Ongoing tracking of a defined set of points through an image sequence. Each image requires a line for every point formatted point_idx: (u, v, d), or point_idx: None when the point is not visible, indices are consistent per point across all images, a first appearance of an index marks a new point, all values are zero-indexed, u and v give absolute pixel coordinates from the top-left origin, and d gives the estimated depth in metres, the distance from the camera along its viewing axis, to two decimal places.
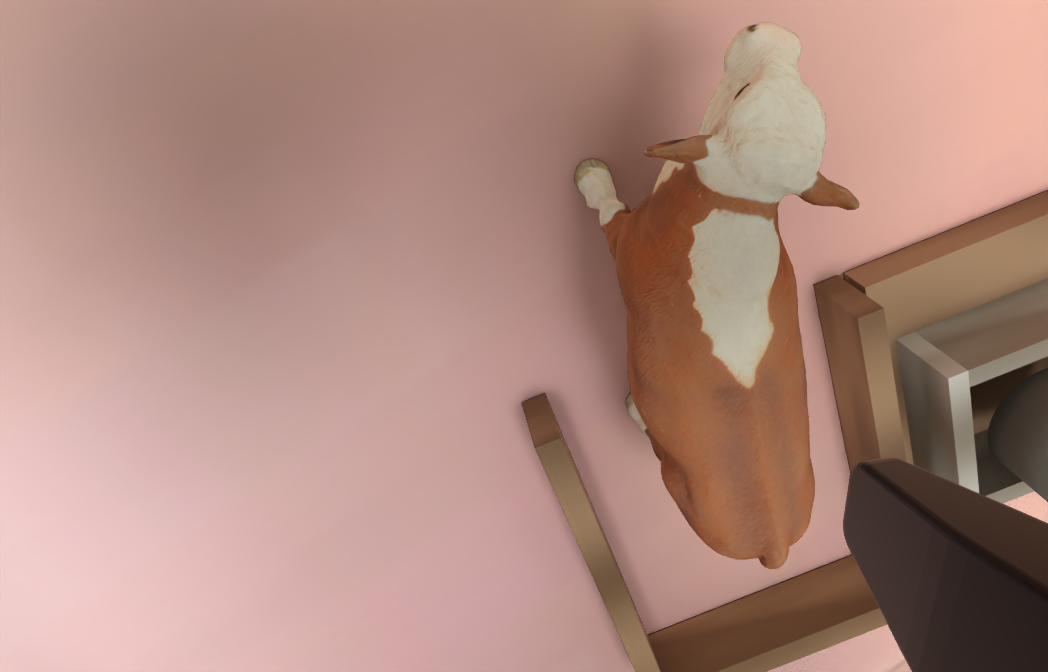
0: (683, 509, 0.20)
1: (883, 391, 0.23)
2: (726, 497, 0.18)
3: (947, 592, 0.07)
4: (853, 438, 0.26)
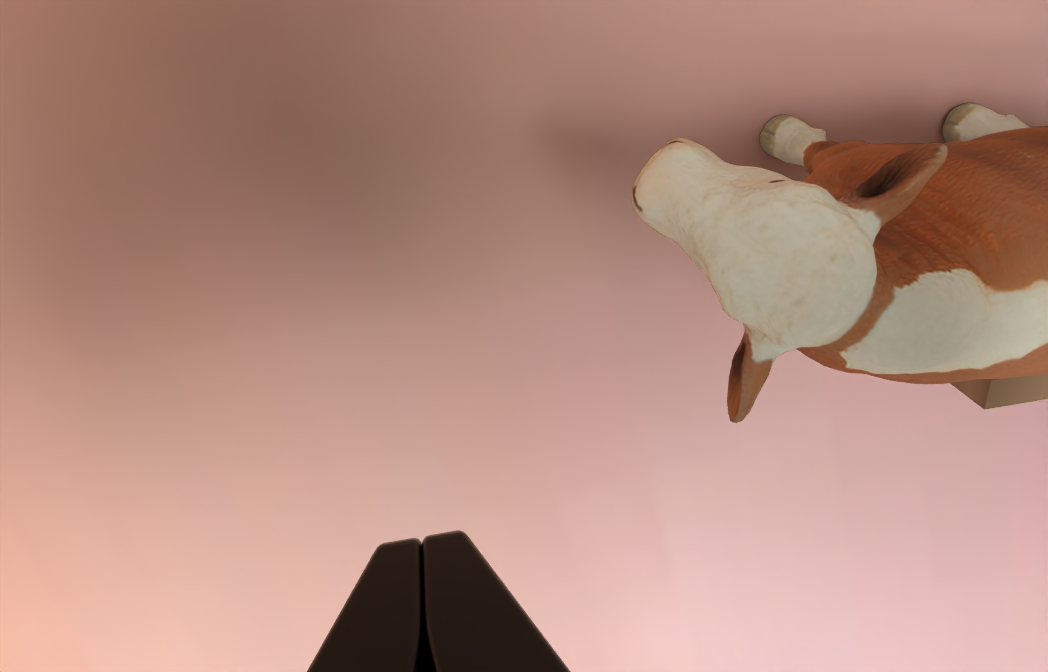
0: None
1: None
2: None
3: None
4: None
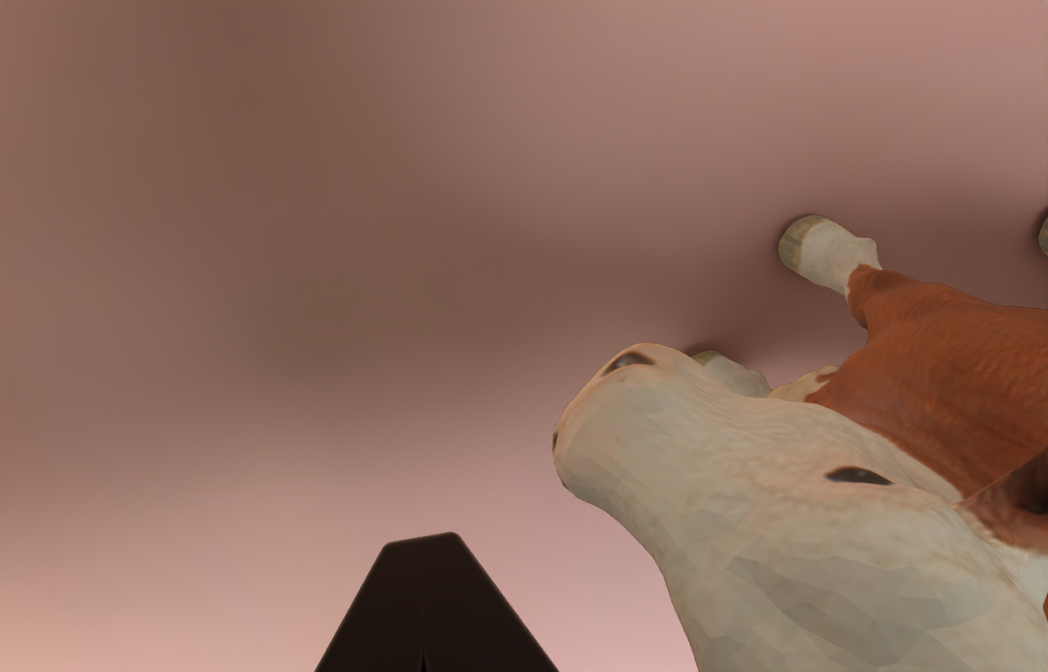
0: None
1: None
2: None
3: None
4: None
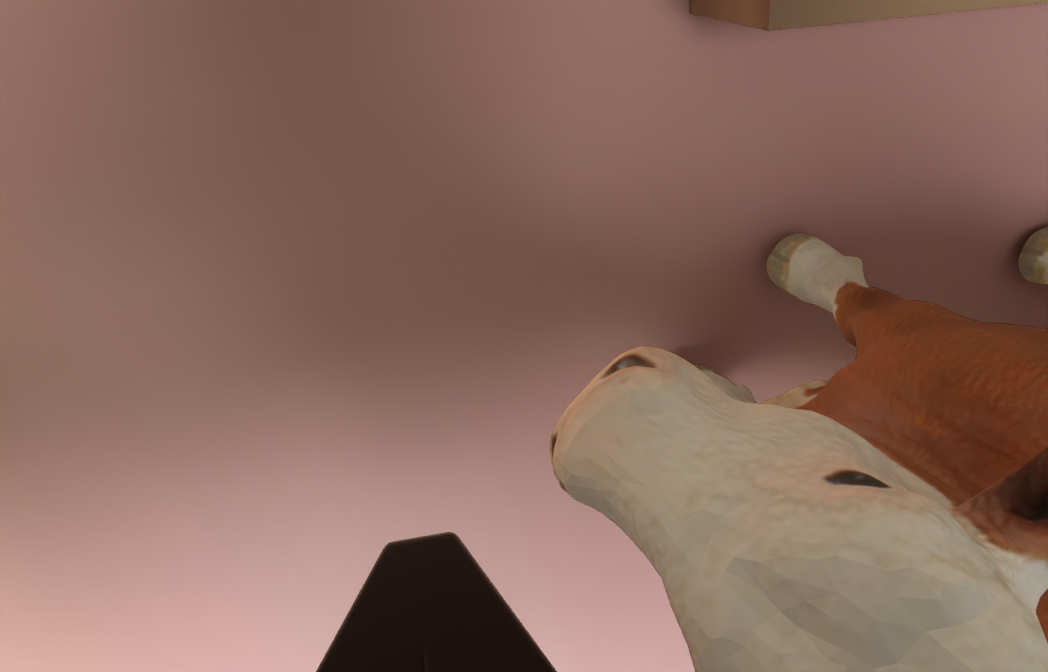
0: None
1: None
2: None
3: None
4: None
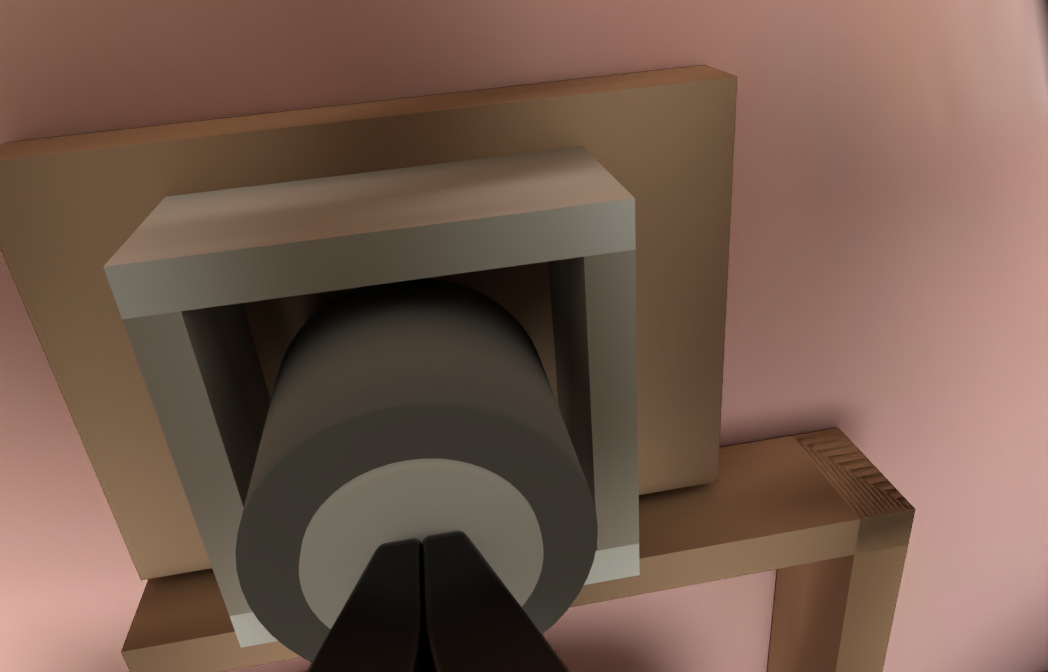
0: None
1: None
2: None
3: None
4: None
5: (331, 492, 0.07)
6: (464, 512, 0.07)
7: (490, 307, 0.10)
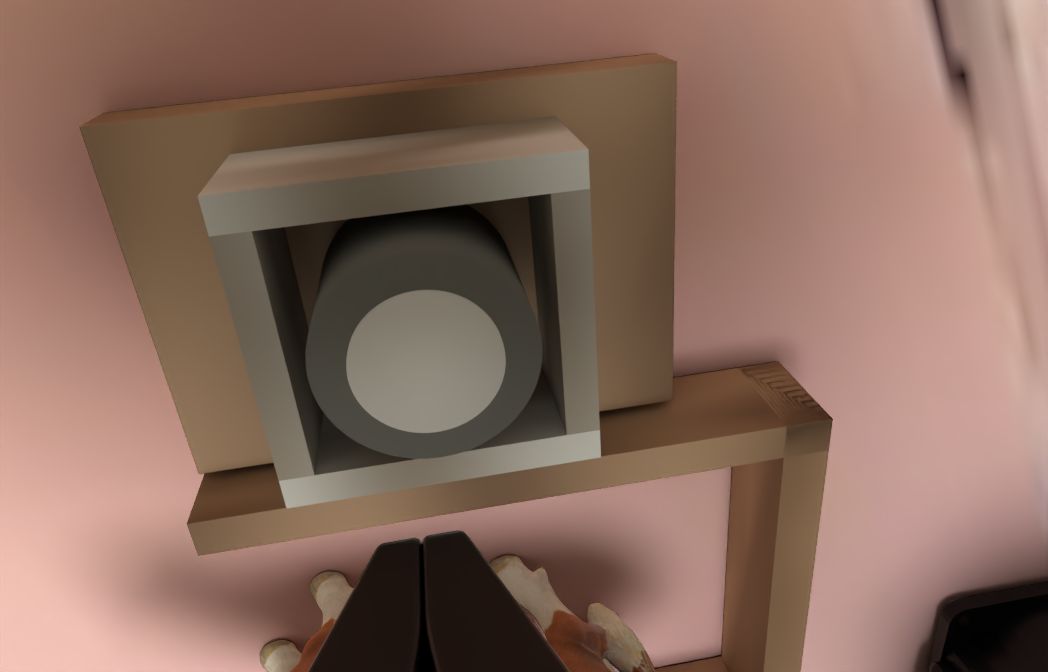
0: None
1: (341, 514, 0.15)
2: None
3: None
4: None
5: (367, 315, 0.11)
6: (453, 327, 0.11)
7: (473, 213, 0.14)
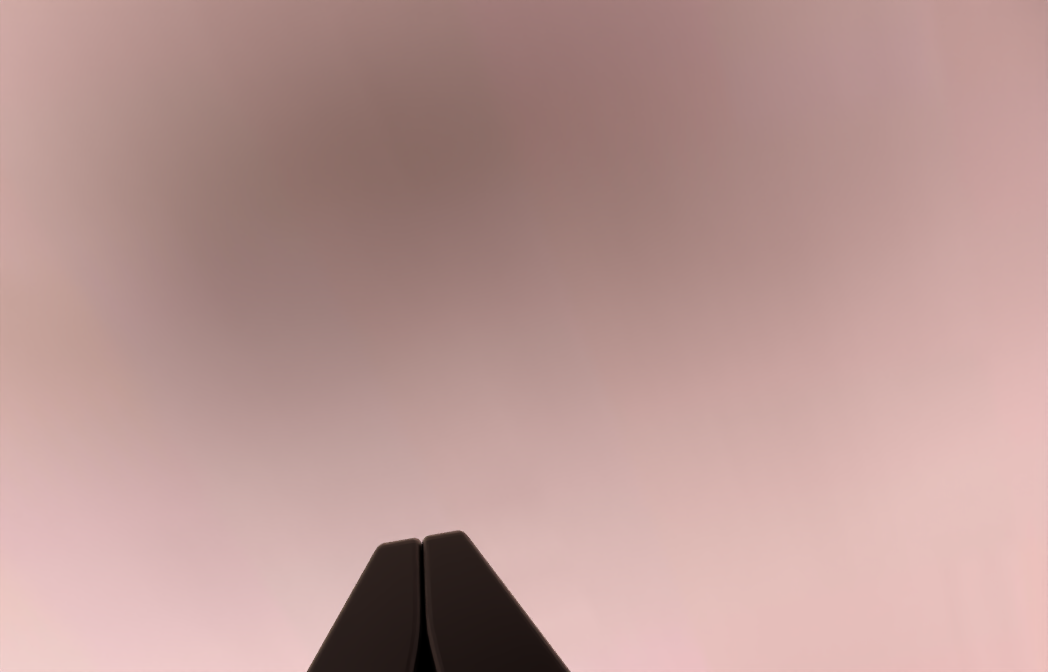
0: None
1: None
2: None
3: None
4: None
5: None
6: None
7: None
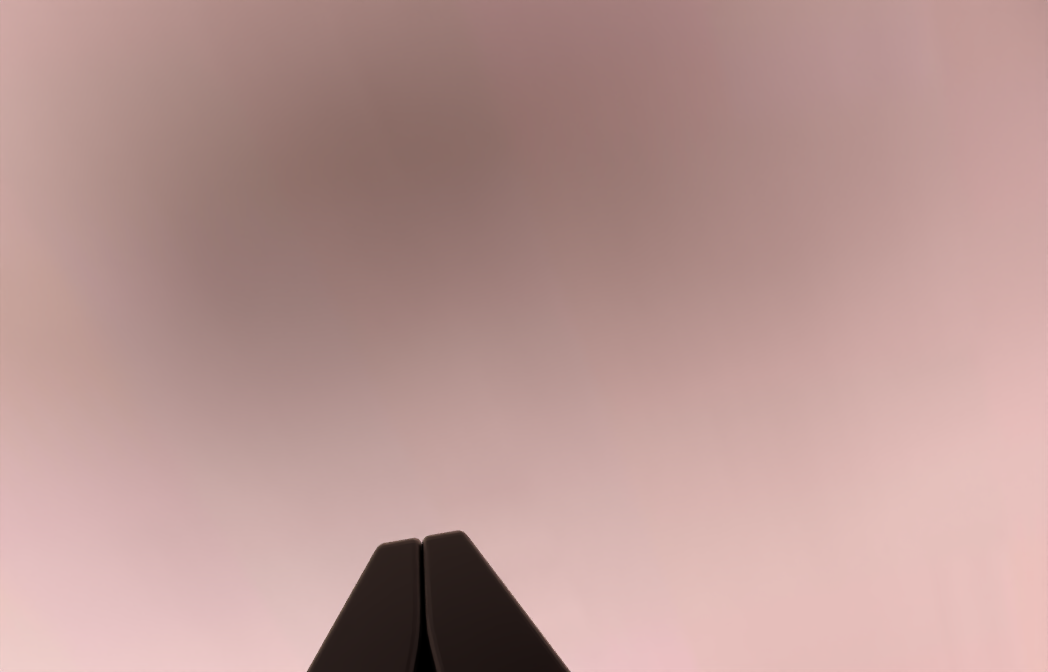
0: None
1: None
2: None
3: None
4: None
5: None
6: None
7: None
